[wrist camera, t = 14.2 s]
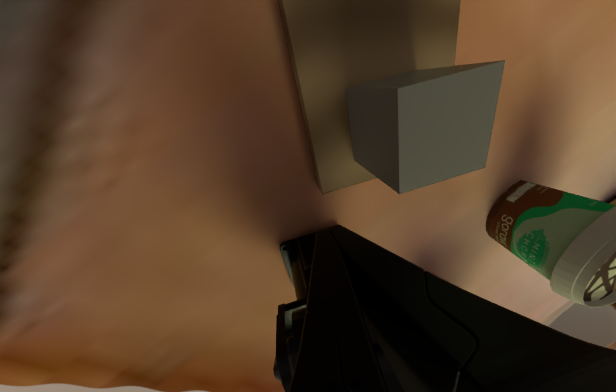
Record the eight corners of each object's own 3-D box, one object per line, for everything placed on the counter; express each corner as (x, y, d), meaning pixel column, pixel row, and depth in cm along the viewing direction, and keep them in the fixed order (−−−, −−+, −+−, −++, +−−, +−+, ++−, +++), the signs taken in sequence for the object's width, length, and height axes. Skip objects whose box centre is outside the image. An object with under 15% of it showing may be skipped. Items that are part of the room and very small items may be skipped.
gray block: (415, 143, 19) (485, 167, 13) (354, 160, 18) (399, 194, 13) (416, 70, 16) (504, 60, 11) (345, 88, 16) (397, 88, 10)
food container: (473, 196, 25) (588, 253, 17) (521, 169, 25) (664, 213, 16) (480, 261, 31) (569, 329, 22) (520, 240, 31) (624, 300, 22)
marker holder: (434, 152, 22) (505, 178, 15) (318, 187, 21) (345, 229, 14) (460, -256, 11) (708, -673, 5) (228, -230, 10) (187, -717, 4)
